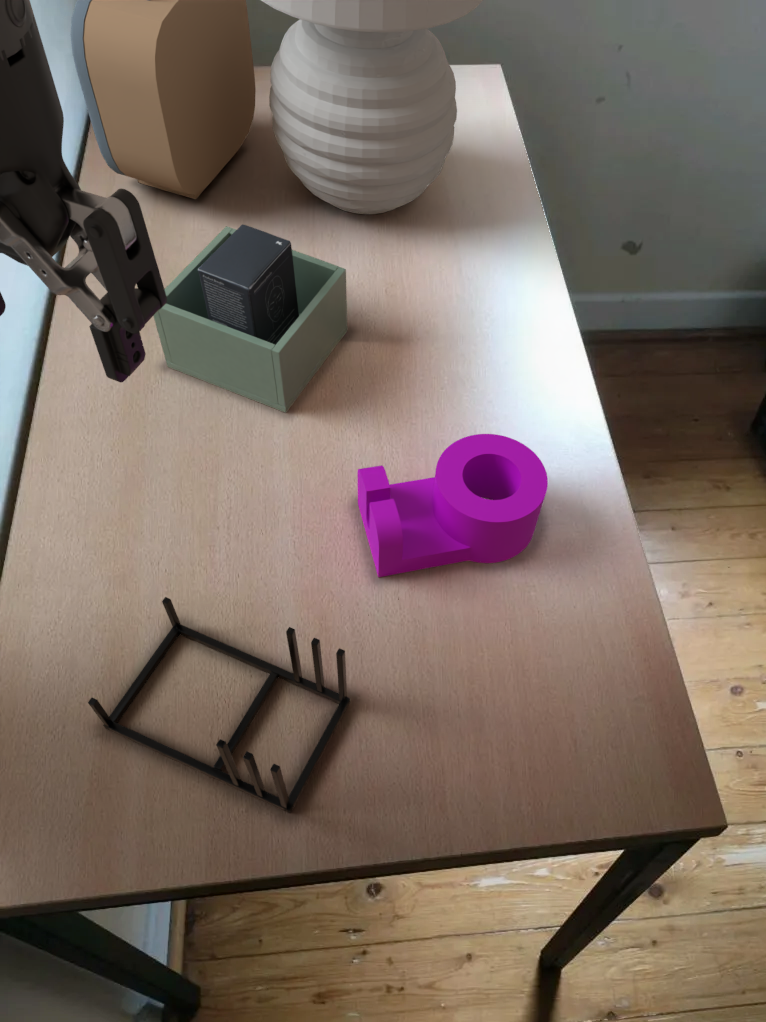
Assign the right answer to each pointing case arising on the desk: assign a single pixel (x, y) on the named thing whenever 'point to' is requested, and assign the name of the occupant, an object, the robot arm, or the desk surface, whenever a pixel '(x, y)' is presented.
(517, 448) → the magenta mechanical bracket
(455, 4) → the table lamp
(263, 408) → the desk surface
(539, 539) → the desk surface
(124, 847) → the desk surface
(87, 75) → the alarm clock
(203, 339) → the green storage bin
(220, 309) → the box
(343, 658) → the rack
